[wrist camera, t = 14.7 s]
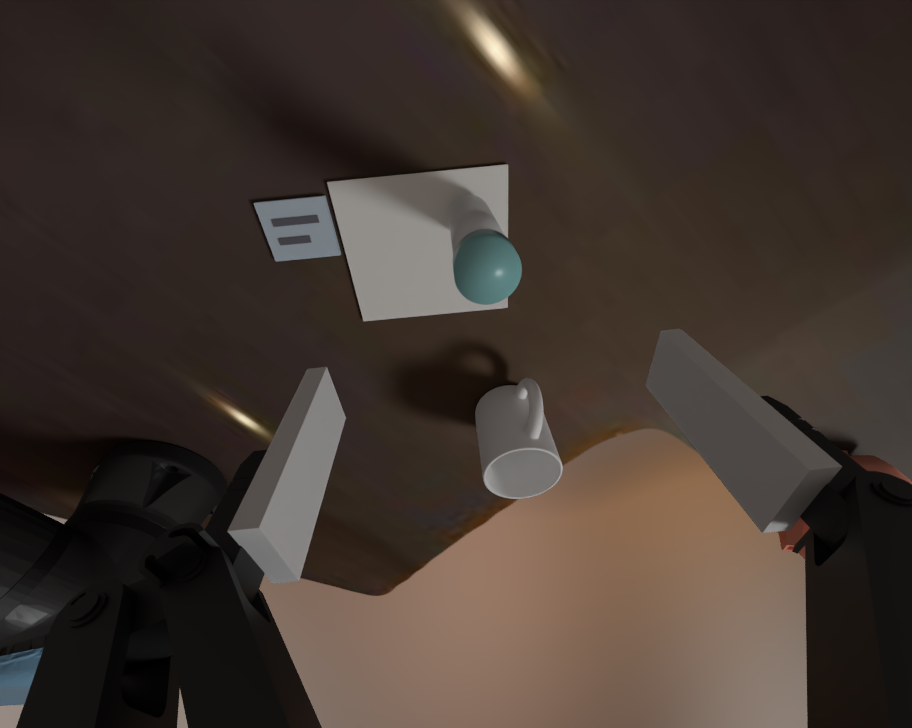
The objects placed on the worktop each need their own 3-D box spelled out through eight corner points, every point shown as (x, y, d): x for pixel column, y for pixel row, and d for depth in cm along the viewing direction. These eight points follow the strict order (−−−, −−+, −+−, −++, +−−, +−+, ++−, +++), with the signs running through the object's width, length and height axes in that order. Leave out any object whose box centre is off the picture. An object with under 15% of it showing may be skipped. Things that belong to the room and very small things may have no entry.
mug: (491, 352, 40) (506, 415, 32) (559, 362, 41) (591, 426, 33) (467, 427, 47) (474, 495, 38) (526, 434, 48) (546, 502, 40)
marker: (449, 239, 32) (457, 307, 21) (444, 194, 30) (450, 243, 19) (490, 234, 32) (521, 301, 21) (489, 188, 30) (522, 235, 19)
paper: (363, 320, 37) (363, 321, 37) (327, 181, 29) (326, 182, 29) (507, 306, 37) (507, 307, 37) (507, 164, 29) (508, 164, 29)
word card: (277, 260, 33) (275, 261, 33) (255, 202, 30) (252, 203, 30) (341, 253, 33) (339, 255, 32) (325, 195, 30) (323, 196, 30)
